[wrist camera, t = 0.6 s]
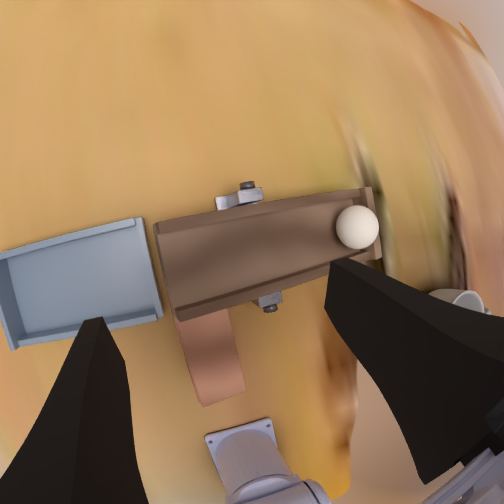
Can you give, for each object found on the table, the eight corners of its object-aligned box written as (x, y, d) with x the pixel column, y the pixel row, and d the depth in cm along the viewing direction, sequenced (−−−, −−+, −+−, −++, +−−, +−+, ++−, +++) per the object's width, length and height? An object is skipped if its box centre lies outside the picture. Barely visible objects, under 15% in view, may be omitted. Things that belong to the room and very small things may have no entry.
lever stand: (273, 293, 31) (294, 305, 26) (235, 303, 30) (250, 318, 25) (253, 187, 30) (271, 178, 25) (213, 194, 29) (224, 185, 24)
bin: (164, 310, 28) (163, 322, 25) (26, 337, 24) (10, 350, 21) (143, 218, 27) (139, 215, 23) (4, 253, 23) (-15, 256, 20)
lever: (366, 325, 32) (387, 330, 30) (198, 401, 24) (211, 418, 21) (348, 190, 31) (371, 186, 28) (152, 224, 22) (159, 221, 19)
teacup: (391, 362, 37) (431, 383, 29) (403, 283, 36) (449, 293, 28) (451, 346, 40) (487, 360, 32) (461, 280, 40) (500, 287, 32)
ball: (360, 244, 30) (390, 244, 26) (331, 252, 28) (360, 254, 24) (354, 204, 29) (383, 200, 26) (324, 210, 28) (353, 206, 24)
